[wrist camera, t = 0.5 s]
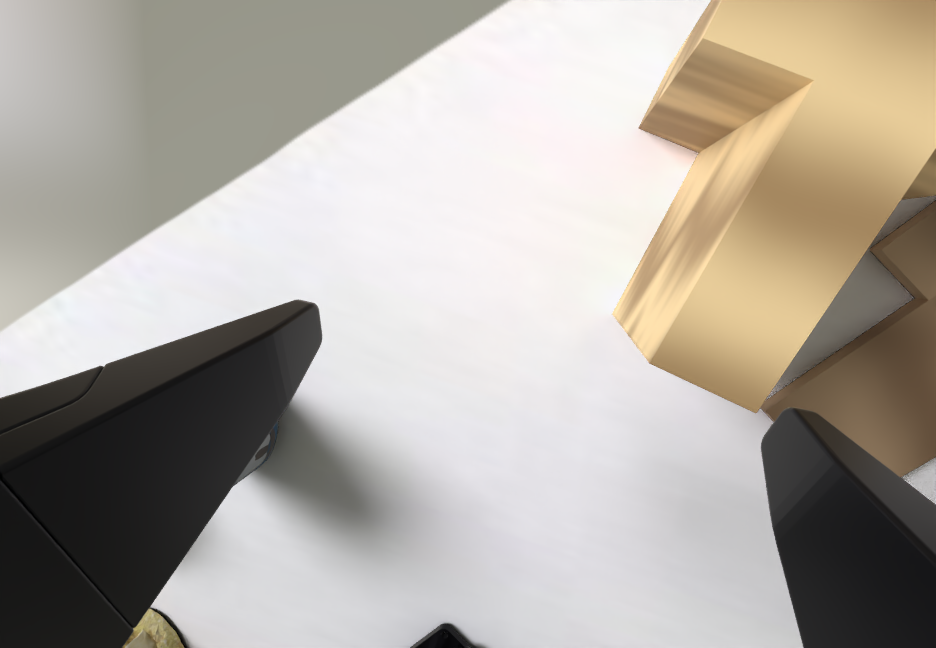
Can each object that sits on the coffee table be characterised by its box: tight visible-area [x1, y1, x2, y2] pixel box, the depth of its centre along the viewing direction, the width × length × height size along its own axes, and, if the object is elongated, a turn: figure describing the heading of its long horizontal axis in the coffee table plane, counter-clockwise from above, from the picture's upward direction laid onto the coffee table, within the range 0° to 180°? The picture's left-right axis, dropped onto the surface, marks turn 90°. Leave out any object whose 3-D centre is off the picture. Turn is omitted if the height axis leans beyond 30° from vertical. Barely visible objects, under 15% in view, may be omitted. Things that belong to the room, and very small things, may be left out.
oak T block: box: [612, 0, 936, 413], centre depth 17 cm, size 12×10×10 cm
